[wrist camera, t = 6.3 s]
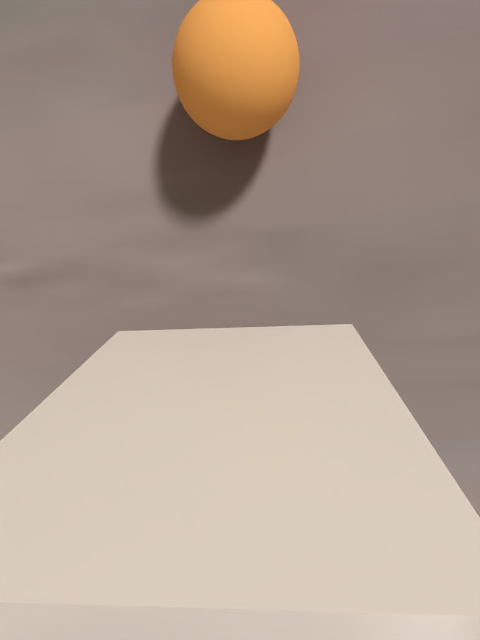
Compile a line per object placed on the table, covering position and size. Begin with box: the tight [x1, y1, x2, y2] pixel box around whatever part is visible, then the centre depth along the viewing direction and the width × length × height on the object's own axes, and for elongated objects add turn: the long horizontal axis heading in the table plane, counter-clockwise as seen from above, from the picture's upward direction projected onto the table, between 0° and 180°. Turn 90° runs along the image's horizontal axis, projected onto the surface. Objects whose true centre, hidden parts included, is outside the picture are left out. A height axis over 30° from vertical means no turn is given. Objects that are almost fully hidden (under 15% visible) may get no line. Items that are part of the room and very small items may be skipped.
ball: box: [172, 0, 299, 140], centre depth 15 cm, size 5×5×5 cm
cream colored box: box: [0, 324, 480, 640], centre depth 8 cm, size 7×7×8 cm
